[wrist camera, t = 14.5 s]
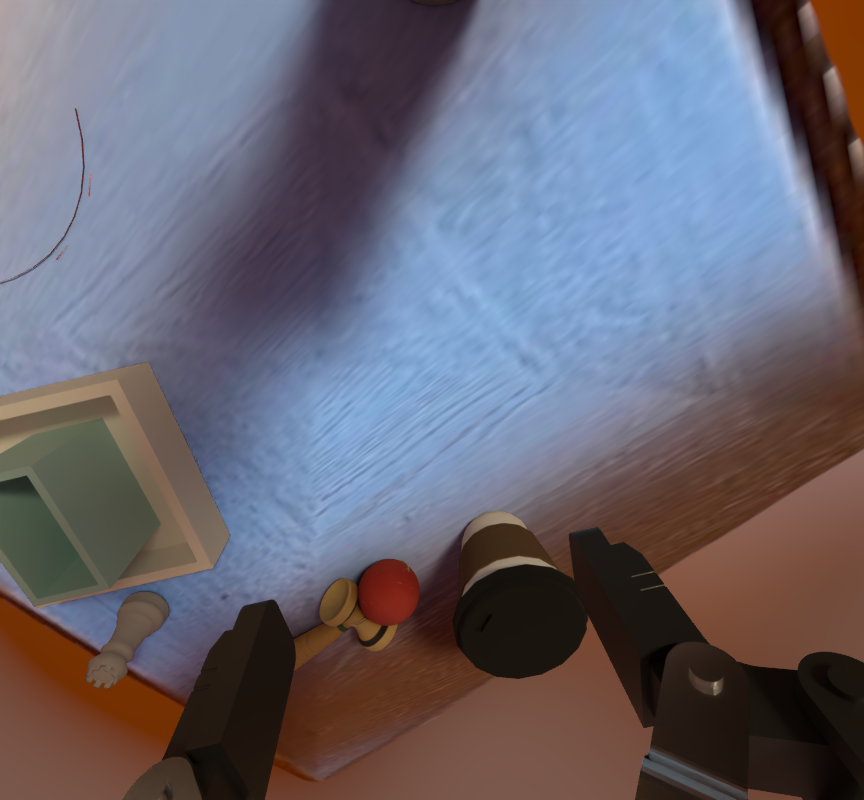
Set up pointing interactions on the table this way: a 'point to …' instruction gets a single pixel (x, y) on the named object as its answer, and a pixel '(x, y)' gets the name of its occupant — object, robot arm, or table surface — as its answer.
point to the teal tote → (70, 512)
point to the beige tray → (133, 463)
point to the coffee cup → (514, 601)
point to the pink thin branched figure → (79, 197)
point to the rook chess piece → (127, 636)
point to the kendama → (363, 609)
